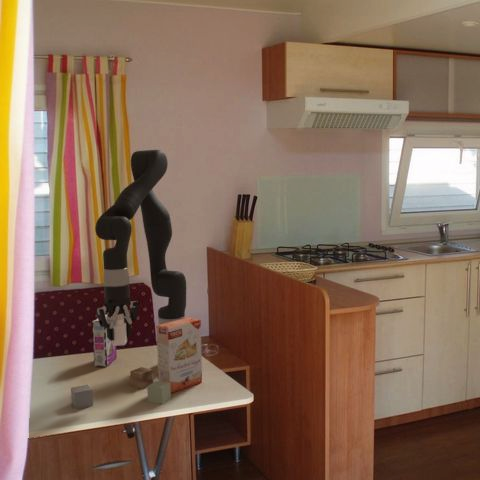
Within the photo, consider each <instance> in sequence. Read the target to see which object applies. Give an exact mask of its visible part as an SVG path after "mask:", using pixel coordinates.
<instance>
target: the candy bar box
mask: <svg viewBox="0 0 480 480" xmlns="http://www.w3.org/2000/svg"><path fill="white" fill-rule="evenodd" d="M105 317H107V314H105ZM111 318H112V316H111ZM106 321H107V319H106ZM91 323H92V342H93V343H92V344H93V366H94V367H95V368H107V367H108V366H110V365H111V364H112V362H114V361H115V360H116V359H117V357H118V356H117V346H114V345H113V344H112V341H111V340H109V339H108V338H107V330H106V328H104V327H101V326H100V324H99V320H98V317H97V318H96V319H94V320H92V322H91Z"/></svg>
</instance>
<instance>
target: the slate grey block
mask: <svg viewBox="0 0 480 480" xmlns="http://www.w3.org/2000/svg"><path fill="white" fill-rule="evenodd" d="M70 398H71V405H72V406H73V408H75V410H78V409H83V408H88V407H92V406H94V401H93V389H92V388H91V387H90V386H89V385H88V384H84V385H80V386H79V385H78V386H73V387H70Z"/></svg>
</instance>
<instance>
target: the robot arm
mask: <svg viewBox="0 0 480 480" xmlns="http://www.w3.org/2000/svg"><path fill="white" fill-rule="evenodd" d="M130 168H131V173H132V177H133V181H132V182H131V183H130V184H128V185H127V186H126V187H125V188H124V189H122V191H121V192H120V194H119V195H118V197H117V199H116V200H115V202H114V204H113V205H111V206H110V207H109V208H108V209H106V210H105V211H104V212H103V213H102V214H101V216H99V218H98V219H97V221H96V223H95V226H94V227H95V230H94V231H95V234H96V236H97V237H98V238H99V239H100V240H104V241H115V244H114V247H109V248H106V249H105V250H103V253H102V259H103V260H102V261H103V263H102V264H103V278H102V279H103V292H104V297H103V298H104V301H105V302H104V306H102V307H97V308H96V309H95V312H96V316H97V318H98V320H99V324H100V326H101V327H104V328H106V330H107V338H108V339H109V340H111V341H113V340H114V328H113V325H114V322H115V321H116V318H117V315H118V314H124V323H126V328H127V338H128V337H131V335H132V331H133V330H132V329H133V328H132V323H134V322H137V320H138V313H139V306H140V302H139V301H136V300H132V301H131V300H130V297H131V292H130V291H131V290H130V274H129V268H128V251H129V246H130V245H129V244H130V240H131V236H132V232H133V231H132V229H133V228H132V223H131V220H133V219H134V216H135V215H136V213H137V212H138V209H140V210H141V211H140V212H141V216H142V217H141V218H142V225H143V230H144V235H145V240H146V245H147V251H148V252H147V253H148V258H149V269H150V271H149V272H150V284H151V288H152V291H153V293H154V294H155V295H156V296H157V297H158V296H159V297H163V298H168V302H167V305H164V306H161V307H159V308H158V309H157V318H158V321H157V322H158V325H161V324H164V323H168V322H172V321H177V320H180V319H184V318H186V317H185V314H186V313H185V312H186V308H187V280H186V276H185V274H184V273H183V272H181V271H178V270H176V271H175V270H168V268H167V264H166V254H167V250H168V247H169V246H170V243H171V240H172V237H173V228H172V227H173V226H172V222H171V215H170V213H169V211H168V209H167V208H166V206H165V205H164V204H163V203H162V201H161V200H160V199H159V197H158V196H157V195H156V194H155V192H154V190H153V189H154V187H156V185H157V184H158V183H159V182H160V180H161V179H162V178H163V177H164V175H166V173H167V171H168V157H167V155H166V154H165V152H164V151H162V150H160V149H148V150H136V151H134V152H133V153H132V154H131V157H130ZM129 308H130V310H129ZM106 313H107V314H106ZM105 315H107V317H105ZM111 316H112V318H111ZM106 319H107V321H106Z"/></svg>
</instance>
